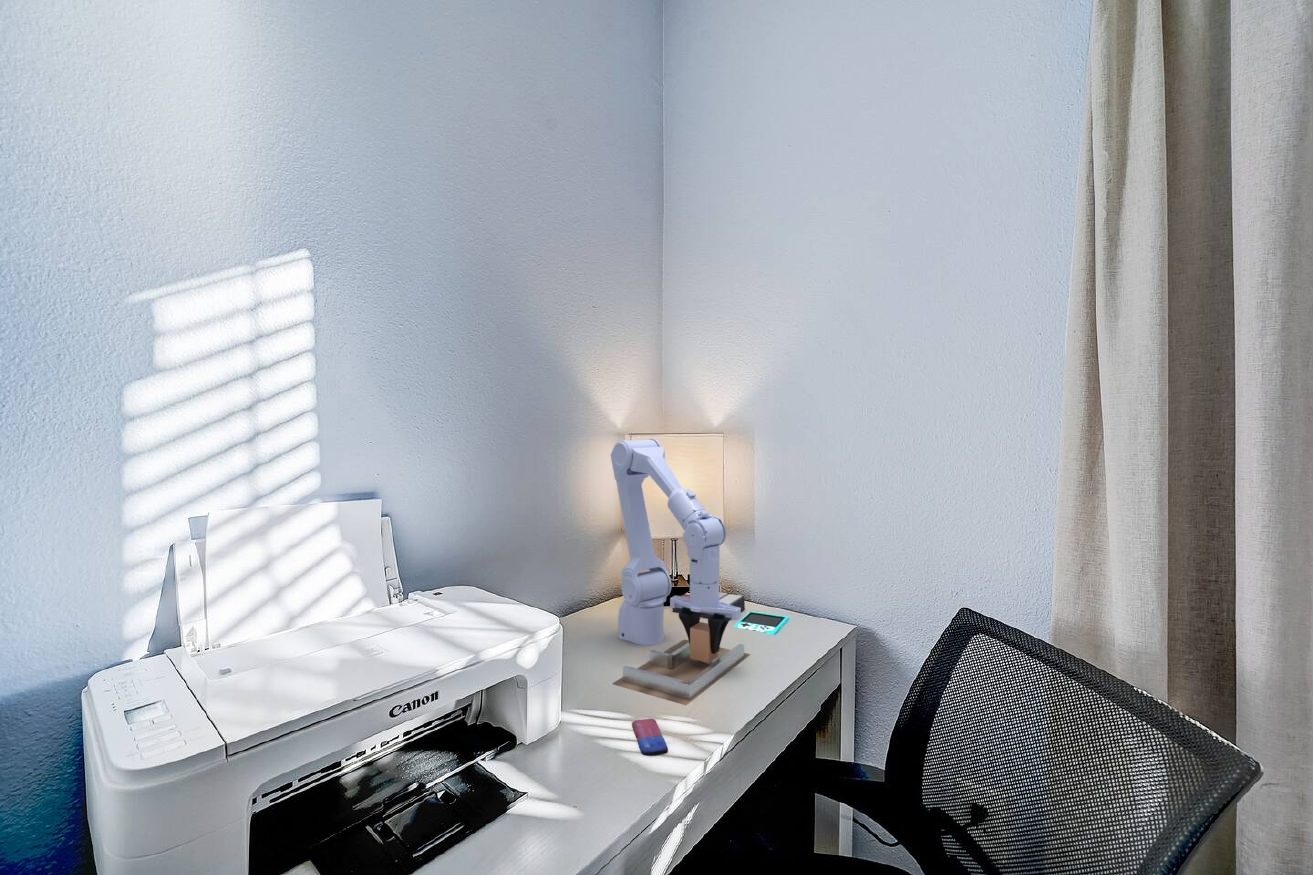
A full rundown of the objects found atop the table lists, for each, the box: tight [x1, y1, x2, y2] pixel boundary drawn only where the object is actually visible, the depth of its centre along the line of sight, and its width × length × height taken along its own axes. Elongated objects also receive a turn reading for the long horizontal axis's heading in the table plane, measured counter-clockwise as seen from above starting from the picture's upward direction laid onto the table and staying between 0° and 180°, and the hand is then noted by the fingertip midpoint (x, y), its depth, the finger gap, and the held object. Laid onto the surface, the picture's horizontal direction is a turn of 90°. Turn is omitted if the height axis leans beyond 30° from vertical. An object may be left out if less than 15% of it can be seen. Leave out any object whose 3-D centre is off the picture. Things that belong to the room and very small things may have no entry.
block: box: [690, 621, 718, 663], centre depth 123 cm, size 4×4×6 cm
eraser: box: [631, 718, 669, 756], centre depth 97 cm, size 11×4×2 cm, turn 12°
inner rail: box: [649, 643, 690, 670], centre depth 128 cm, size 5×13×2 cm, turn 147°
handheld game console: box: [732, 610, 790, 636], centre depth 148 cm, size 10×16×1 cm, turn 153°
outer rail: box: [622, 643, 745, 700], centre depth 121 cm, size 14×22×2 cm, turn 147°
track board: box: [611, 638, 752, 706], centre depth 122 cm, size 16×26×1 cm, turn 147°
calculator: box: [672, 591, 746, 622], centre depth 159 cm, size 11×4×15 cm
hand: (704, 649), depth 123 cm, fingers closed on block, 4 cm apart
